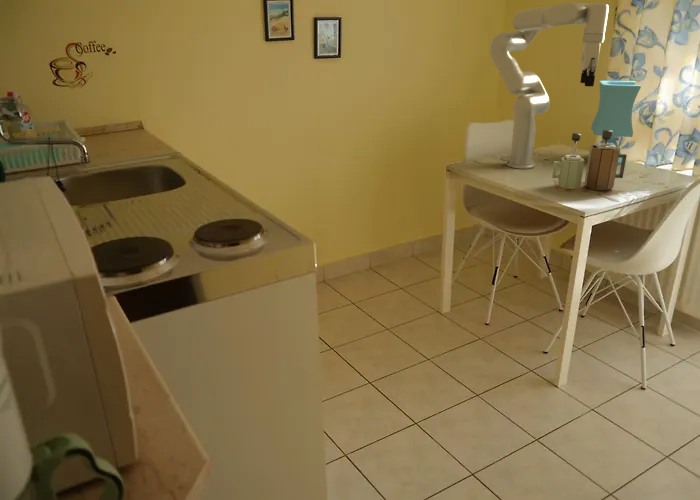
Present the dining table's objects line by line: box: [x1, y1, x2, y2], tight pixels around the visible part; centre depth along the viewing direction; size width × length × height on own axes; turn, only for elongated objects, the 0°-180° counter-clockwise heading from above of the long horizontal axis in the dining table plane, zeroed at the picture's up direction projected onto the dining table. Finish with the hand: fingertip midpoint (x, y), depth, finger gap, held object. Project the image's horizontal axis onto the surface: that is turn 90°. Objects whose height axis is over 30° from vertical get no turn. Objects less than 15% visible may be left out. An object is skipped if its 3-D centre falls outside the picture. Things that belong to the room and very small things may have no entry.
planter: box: [590, 80, 642, 165], centre depth 262 cm, size 16×16×35 cm
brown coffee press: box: [584, 142, 627, 191], centre depth 222 cm, size 13×10×17 cm
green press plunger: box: [571, 132, 582, 157], centre depth 222 cm, size 5×5×13 cm
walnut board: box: [553, 180, 619, 195], centre depth 227 cm, size 22×14×1 cm, turn 79°
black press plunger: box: [601, 130, 613, 150], centre depth 221 cm, size 6×6×20 cm
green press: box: [551, 154, 585, 189], centre depth 225 cm, size 11×8×12 cm
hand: (586, 84), depth 226 cm, fingers open, 9 cm apart
